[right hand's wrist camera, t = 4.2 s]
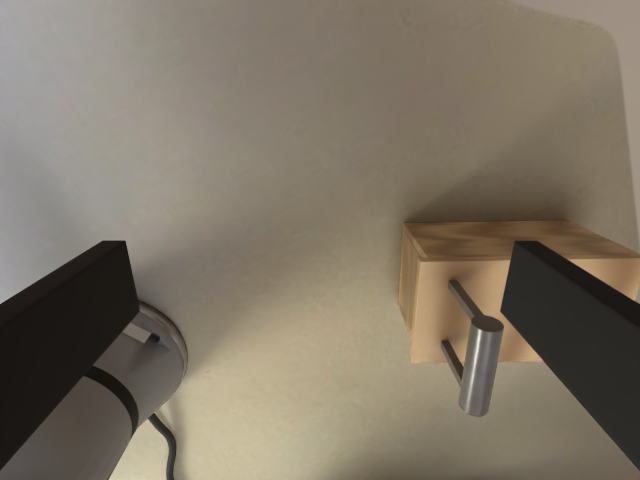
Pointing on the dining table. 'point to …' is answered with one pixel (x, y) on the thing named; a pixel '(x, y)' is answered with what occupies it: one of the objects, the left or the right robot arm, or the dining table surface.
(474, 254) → the chest
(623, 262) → the lid
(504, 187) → the dining table surface
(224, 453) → the dining table surface
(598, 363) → the right robot arm
